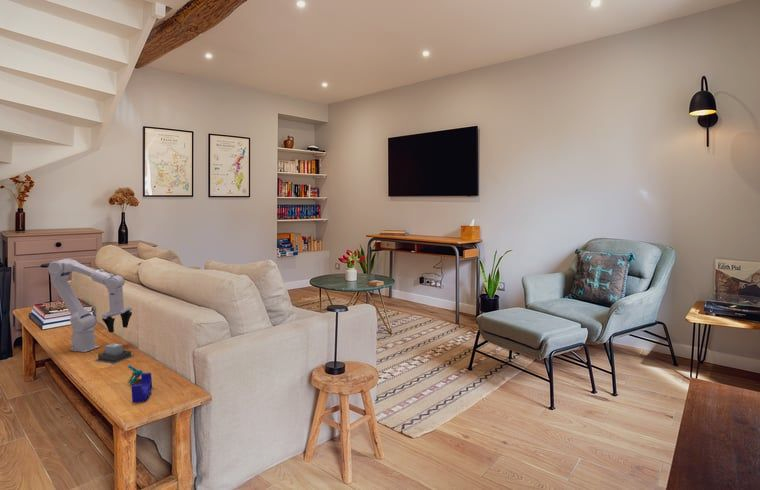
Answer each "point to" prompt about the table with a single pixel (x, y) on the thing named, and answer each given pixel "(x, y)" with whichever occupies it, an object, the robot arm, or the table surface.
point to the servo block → (113, 349)
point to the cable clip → (142, 388)
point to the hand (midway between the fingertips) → (118, 329)
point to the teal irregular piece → (135, 374)
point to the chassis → (114, 357)
